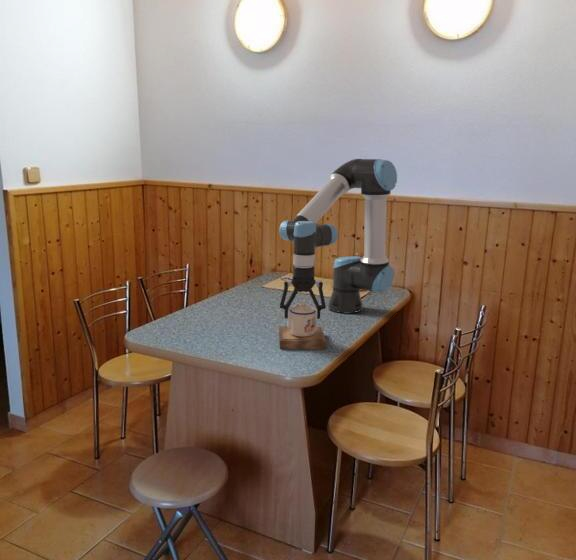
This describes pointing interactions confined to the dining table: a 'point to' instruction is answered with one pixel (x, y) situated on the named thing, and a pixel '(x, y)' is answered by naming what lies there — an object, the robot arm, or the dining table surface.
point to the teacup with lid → (302, 320)
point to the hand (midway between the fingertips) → (302, 327)
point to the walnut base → (301, 339)
